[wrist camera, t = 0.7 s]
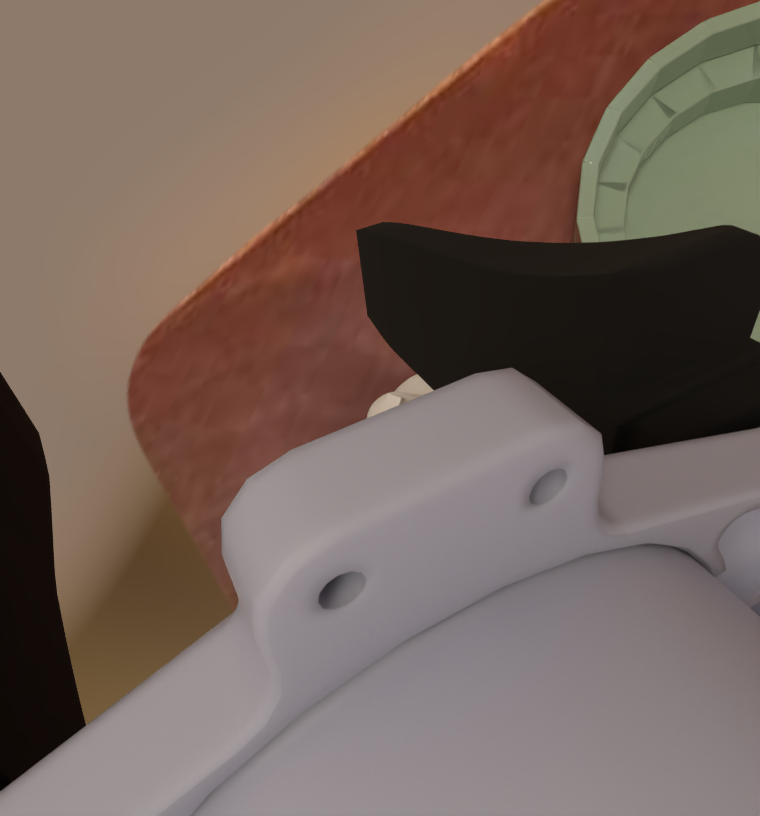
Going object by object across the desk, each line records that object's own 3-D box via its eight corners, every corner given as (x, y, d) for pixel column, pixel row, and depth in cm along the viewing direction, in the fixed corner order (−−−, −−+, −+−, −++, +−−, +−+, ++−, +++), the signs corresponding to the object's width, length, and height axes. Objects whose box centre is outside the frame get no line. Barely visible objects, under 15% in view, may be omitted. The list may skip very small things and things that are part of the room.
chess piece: (371, 458, 28) (277, 474, 18) (405, 355, 27) (329, 315, 18) (473, 496, 26) (433, 536, 17) (510, 389, 26) (491, 365, 16)
